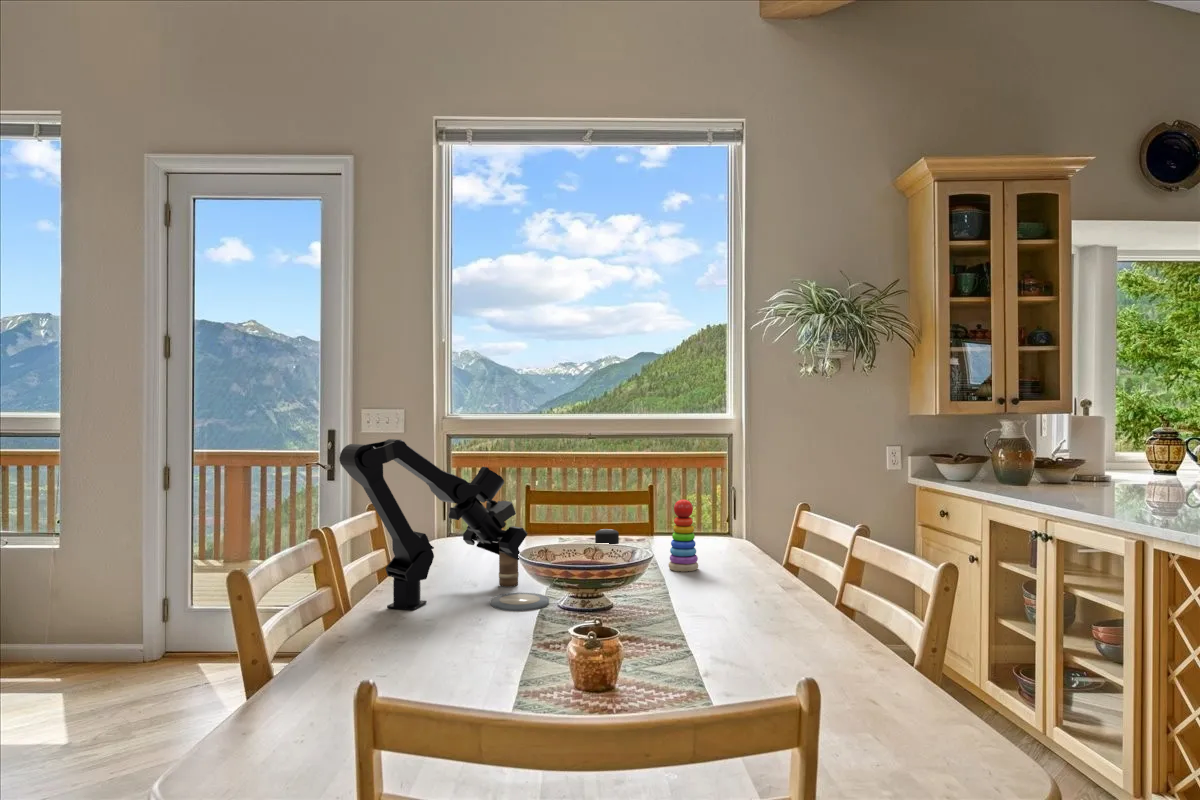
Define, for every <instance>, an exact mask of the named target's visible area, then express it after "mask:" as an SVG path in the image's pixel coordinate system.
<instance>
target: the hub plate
mask: <svg viewBox="0 0 1200 800" xmlns="http://www.w3.org/2000/svg"><path fill="white" fill-rule="evenodd" d="M489 604H490V606H491V607H492V608H494V609H497V610H502V611H509V612H511V611H513V612H517V611H519V612H520V611H533V610H539V609H542V608H545V607H547V606H549V604H550V598H549V597H548V596H547V595H545V594H541V593H535V592H509V593H502V594H499V595H495V596H493V597H492V598H490V601H489Z"/></svg>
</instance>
